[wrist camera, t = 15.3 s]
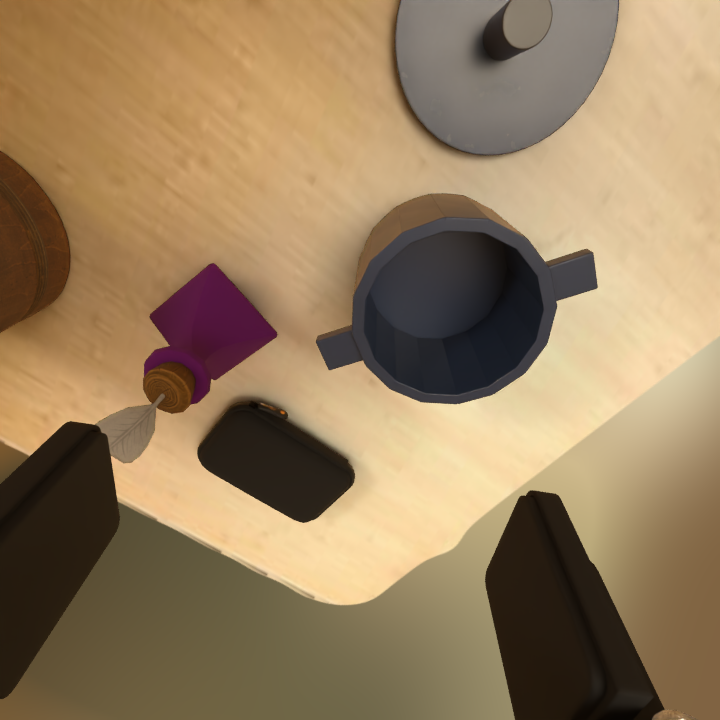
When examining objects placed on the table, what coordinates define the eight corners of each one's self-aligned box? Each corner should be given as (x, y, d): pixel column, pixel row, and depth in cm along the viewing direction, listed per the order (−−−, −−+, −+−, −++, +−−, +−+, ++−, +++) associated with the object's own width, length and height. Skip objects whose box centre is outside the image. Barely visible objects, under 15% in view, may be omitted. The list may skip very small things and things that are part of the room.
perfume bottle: (225, 250, 36) (103, 352, 20) (286, 319, 39) (219, 456, 23) (165, 301, 38) (13, 427, 23) (226, 362, 41) (128, 514, 25)
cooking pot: (304, 239, 35) (281, 275, 27) (533, 153, 32) (587, 165, 23) (359, 369, 41) (354, 432, 32) (560, 308, 37) (612, 362, 29)
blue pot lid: (365, -41, 27) (360, -81, 22) (597, -157, 24) (658, -236, 19) (427, 182, 33) (436, 195, 28) (620, 109, 30) (672, 107, 25)
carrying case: (370, 457, 46) (249, 379, 42) (369, 478, 43) (240, 396, 39) (311, 513, 50) (196, 446, 46) (307, 535, 47) (184, 466, 43)
